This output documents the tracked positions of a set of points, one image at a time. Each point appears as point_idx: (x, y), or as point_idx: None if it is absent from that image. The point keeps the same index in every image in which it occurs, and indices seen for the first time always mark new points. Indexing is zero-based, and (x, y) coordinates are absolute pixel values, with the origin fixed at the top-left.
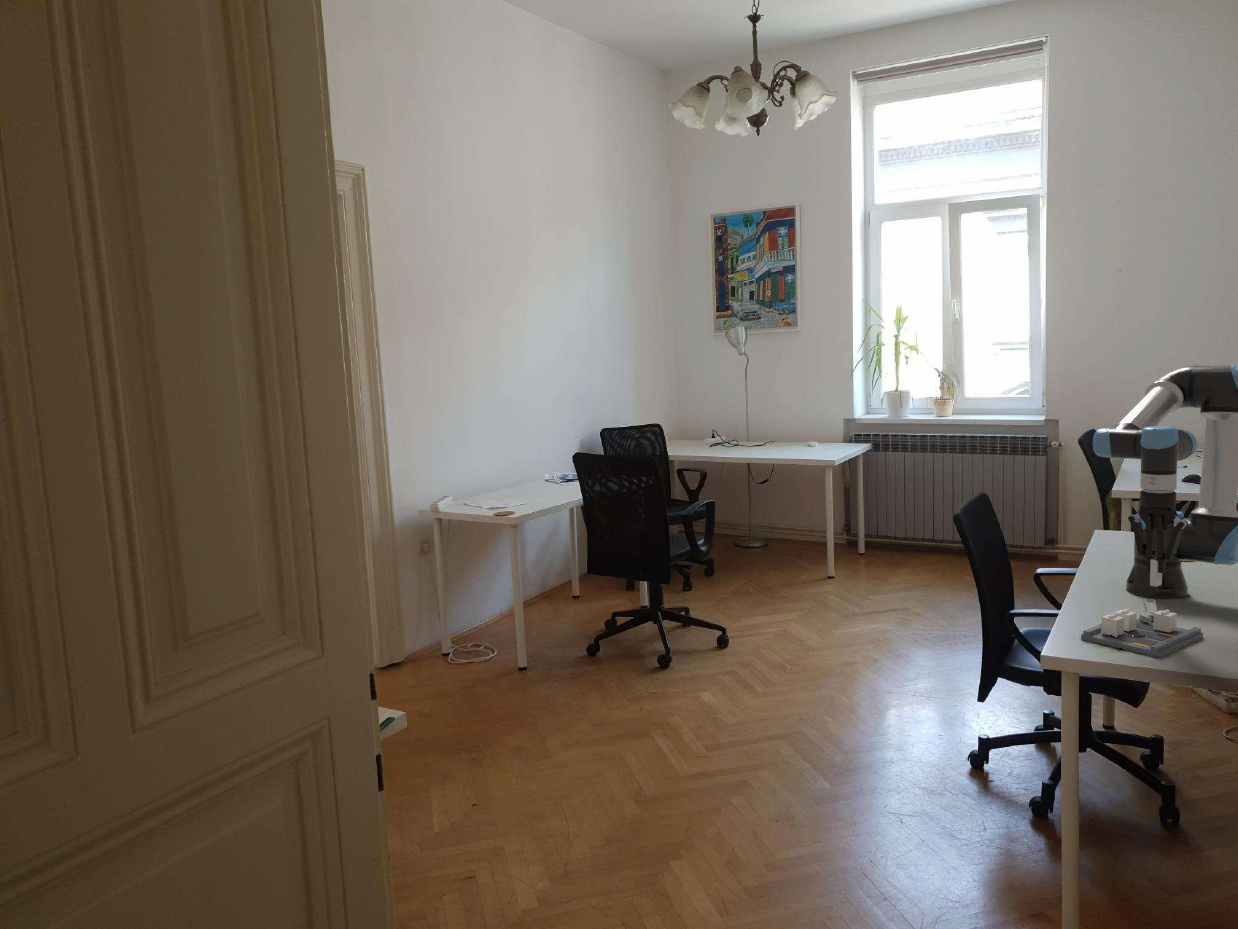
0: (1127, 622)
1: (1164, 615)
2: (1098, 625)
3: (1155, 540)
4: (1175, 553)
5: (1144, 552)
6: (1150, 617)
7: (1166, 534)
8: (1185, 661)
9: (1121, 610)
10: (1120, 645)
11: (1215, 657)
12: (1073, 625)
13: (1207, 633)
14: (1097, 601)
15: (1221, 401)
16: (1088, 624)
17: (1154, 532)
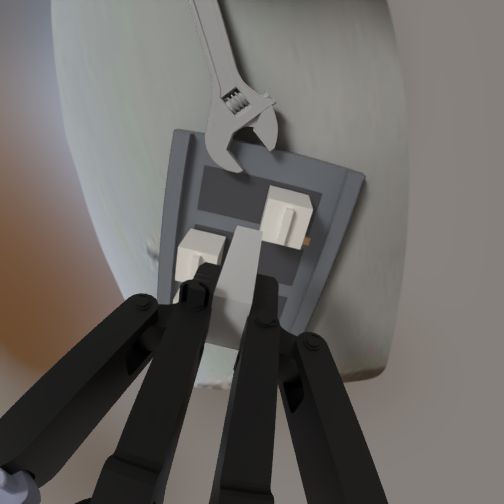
0: None
1: (286, 245)
2: (161, 275)
3: (182, 400)
4: (330, 362)
5: (156, 345)
6: (238, 167)
7: (264, 480)
8: (336, 337)
9: (181, 254)
10: None
11: (382, 295)
12: (110, 230)
13: (367, 128)
14: (88, 11)
15: None
16: (126, 206)
17: (166, 471)
